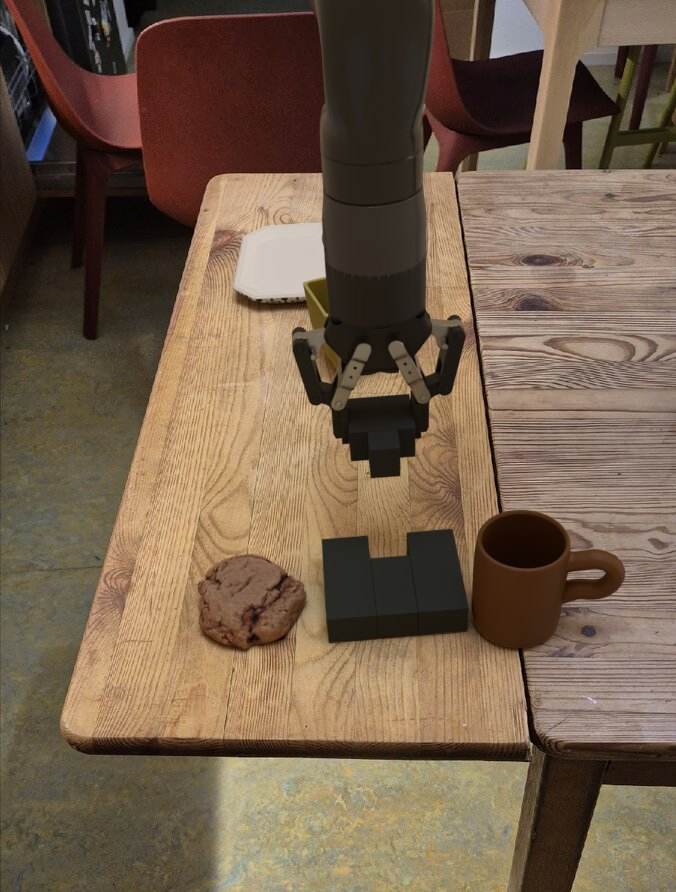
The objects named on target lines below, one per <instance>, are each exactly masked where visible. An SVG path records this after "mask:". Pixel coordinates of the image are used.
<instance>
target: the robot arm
mask: <svg viewBox="0 0 676 892" xmlns="http://www.w3.org/2000/svg"><path fill="white" fill-rule="evenodd" d="M307 2H308V5H309V7H310V9H311V11H312V13H313V14H314V17H315V18H316V21H317V26H318V32H319V41H320V47H321V48H320V50H321V60H322V61H321V62H322V77H323V78H322V79H323V90H324V103H323V106H322V107H321V111H320V117H319V149H320V163H321V164H320V165H321V176H322V179H321V180H322V209H321V222H322V232H323V233H322V242H323V246H324V259H325V273H326V286H327V300H328V317H327V319H326V321H325V323H324V327H322V328H318V329H314V330H313V329H311V330H306V328H304V327H303V326H296V327H294V328H293V329H292V331H291V349H292V353H293V357H294V360H295V363H296V366H297V370H298V372H299V375H300V378H301V381H302V383H303V388H304V391H305V393H306V396H307V399H308V402H309V404H310V405H312V406H320V405H325V406H328V407H329V408H330V411H331V422H332V423H331V424H332V435H333V436H334V438H335V440H339V439H341V445H349V444H350V443H349V426H348V424H349V415H348V403H347V401H348V399H349V398H350V396H351V393H352V391H354V390H355V388H356V387H357V383H358V382H359V379H360V377H363V376H365V377H366V376H372V375H376V374H378V373H383V374H399V373H401V375H402V378H403V379H404V381H405V384H406V385H407V386H408V387H409V389H410V391H409V392H410V393H409V395H410V404H411V409H412V415H413V418H414V422H415V428H416V434H415V440H419V439H420V440H421V439H422V433H427V432H428V430H429V428H430V402H431V401H432V399H433V398H434V397H436V396H439V395H440V396H443V397H446V396H449V395H450V394H451V393H452V392H453V389H454V386H455V381H456V377H457V375H458V374H457V373H458V369H459V366H460V362H461V358H462V354H463V350H464V346H465V342H466V337H467V336H466V332H465V327H464V324H463V321H462V318H461V316H460V315H458V314H452V315H449V316H448V317H447V318H446V319H441V318H431V315H430V314H429V312H428V311H427V229H428V228H427V227H428V225H427V222H428V221H427V219H428V218H427V207H426V200H425V199H426V198H425V191H424V189H425V187H424V163H425V162H424V156H425V154H424V152H425V151H424V147H425V146H424V145H425V144H424V121H423V113H424V112H423V111H424V105H425V102H426V97H427V91H428V84H429V77H430V69H431V62H432V56H433V48H434V47H433V46H434V40H435V39H434V37H435V25H436V23H435V22H436V21H435V20H436V5H435V4H436V2H435V0H307ZM431 336H433V337H434V339H435V343H436V346H437V348H438V349H439V351H438V356H437V360H436V364H435V367H434V372H432V373H430V374H428V375H426V374H425V371H424V370H423V367H422V366H421V363H420V361H419V358H418V356H417V354H418V352H419V351H420V350H421V349H422V347H423V346H424V345H425V343H426V342H427V341H428V339H429V338H430V337H431ZM325 343H327V345H328V346H329V347H330V348H331V349H332V350H333V351H334V352H335V353H336V354H337V355H338V356H339V357H340V359H339V361H338V365H337V370H336V369H335V373H334V376H333V377H332V381H331V382H327V381H323V380H322V377H321V373H320V370H319V367H318V363H317V361H316V360H317V359H319V358H320V356H321V349H322V345H323V344H325Z"/></svg>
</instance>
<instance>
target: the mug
mask: <svg viewBox="0 0 676 892" xmlns="http://www.w3.org/2000/svg"><path fill="white" fill-rule="evenodd" d="M592 570H599V571H603V572H604V574H603V576H601V577H599V578H595V579H592V578H590V579H589V578H571V579H568V574H569V573H574V572H585V571H592ZM625 579H626V568H625V566H624V563H623V561H622V560H621V559H620V558H618V556H617V555H616V554H614V553H611V552H610V551H607V550H603V549H599V548H589V549H582V550H576V551H575V550H574V551H572V550H571V538H570V536H569V533H568V531H567V530H566V528H565V527H564V526H563V525H562V524H561V522H559V521H558V520H557V519H555V518H554V517H552V516H550V515H548V514H545V513H542V512H539V511H535V510H530V509H511V510H505V511H502V512H499V513H497V514H495V515H492V516H491V517H490V518H488V519H487V520H486V521H485V522H484V523H483V524H482V525H481V526H480V528H479V530H478V531H477V535H476V540H475V547H474V552H473V568H472V582H471V583H472V584H471V586H472V587H471V617H472V622H473V624H474V626H475V628H476V629H477V631H478V632H479V634H481V635H482V636H483V637H484V638H485V639H487V641H489V642H491V643H492V644H495V645H498V646H500V647H504V648H508V649H509V648H510V649H528V648H532V647H536V646H538V645H540V644H542V643H544V642H545V641H547V640H548V639H549V638H550V637H552V635H553V634H554V633H555V632H556V630H557V628H558V626H559V623H560V619H561V615H562V611H563V605H565V604H567V603H570V602H575V601H579V600H584V601H595V600H596V601H597V600H602V599H606V598H608V597H610V596H612V595H613V594H615V593H616V592H618V590H619V589H620V588H621V587H622V585H623V583H624V581H625Z"/></svg>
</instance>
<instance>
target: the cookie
mask: <svg viewBox="0 0 676 892" xmlns="http://www.w3.org/2000/svg"><path fill="white" fill-rule="evenodd" d="M204 577H205V580H199V581H198V583H197V592H198V595H199V596H201V599H200V600H199V606H198V611H199V612H200V615H198V620H197V621H198V625H199V629H200V631H201V632H203V633H205V634H206V635H207V636H208V637H211V638H212V639H213V640H215V641H217V643H221V644H222V645H226V646H231V647H232V648H233V647H234V646H235V647H236V648H241V649H242V650H246V649H249V648H250V647H251V646H253V645H260V644H264V645H265V644H266V643H267V644H269V643H270V642H275V641H277V640H279V639H282V638H283V637H284V636H285V635H286V634H289V631H290V629H291V628H293V626H294V623H295V622H297V620H298V618H299V615H300V614H301V611H303V610H304V605H305V603H306V599H307V592H306V591H305V584H304V582H303V581H302V580H298V579H295V577H294V576H293V575H292V574H288V573H287V571H286V570H285V569H284V568H283V567H282V566H280V565H279V564H277V563H275V562H273V561H271V560H270V559H268V558H267V557H266V556H264V555H260V554H256V553H254V554H253V553H246V554H238V555H237V554H236V555H234V556H232V557H226V558H224V559H222V560H221V561H219V562H217V563H216V564H214V565H213V566H212V567H210V568H208V570H207V571H206V572H205V574H204Z"/></svg>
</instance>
